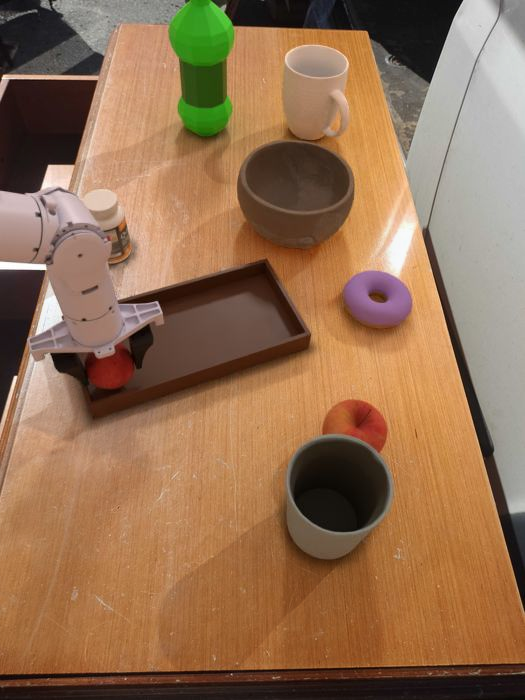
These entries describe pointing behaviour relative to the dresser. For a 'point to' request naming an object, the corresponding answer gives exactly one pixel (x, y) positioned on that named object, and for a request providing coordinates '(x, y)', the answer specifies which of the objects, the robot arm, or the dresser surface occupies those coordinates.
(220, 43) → the plastic bottle
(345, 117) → the mug
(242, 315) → the brown dish
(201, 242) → the dresser surface
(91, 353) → the pomegranate
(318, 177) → the bowl
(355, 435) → the apple
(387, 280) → the donut
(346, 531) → the gray cup
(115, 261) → the pill bottle
